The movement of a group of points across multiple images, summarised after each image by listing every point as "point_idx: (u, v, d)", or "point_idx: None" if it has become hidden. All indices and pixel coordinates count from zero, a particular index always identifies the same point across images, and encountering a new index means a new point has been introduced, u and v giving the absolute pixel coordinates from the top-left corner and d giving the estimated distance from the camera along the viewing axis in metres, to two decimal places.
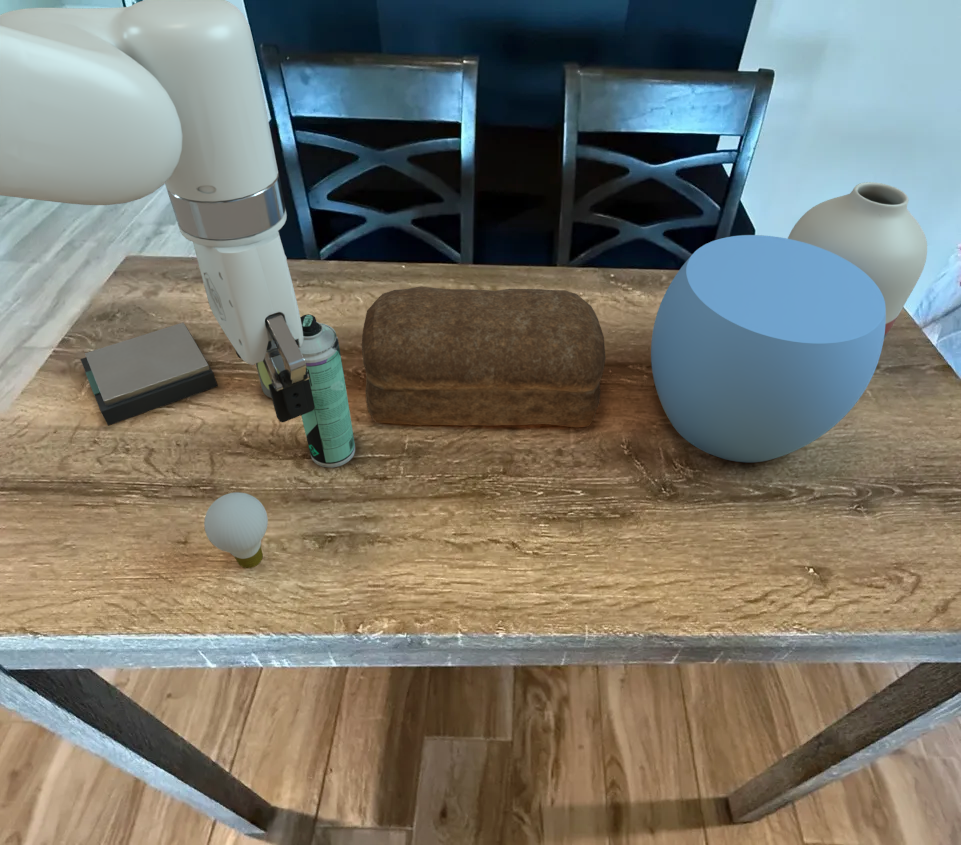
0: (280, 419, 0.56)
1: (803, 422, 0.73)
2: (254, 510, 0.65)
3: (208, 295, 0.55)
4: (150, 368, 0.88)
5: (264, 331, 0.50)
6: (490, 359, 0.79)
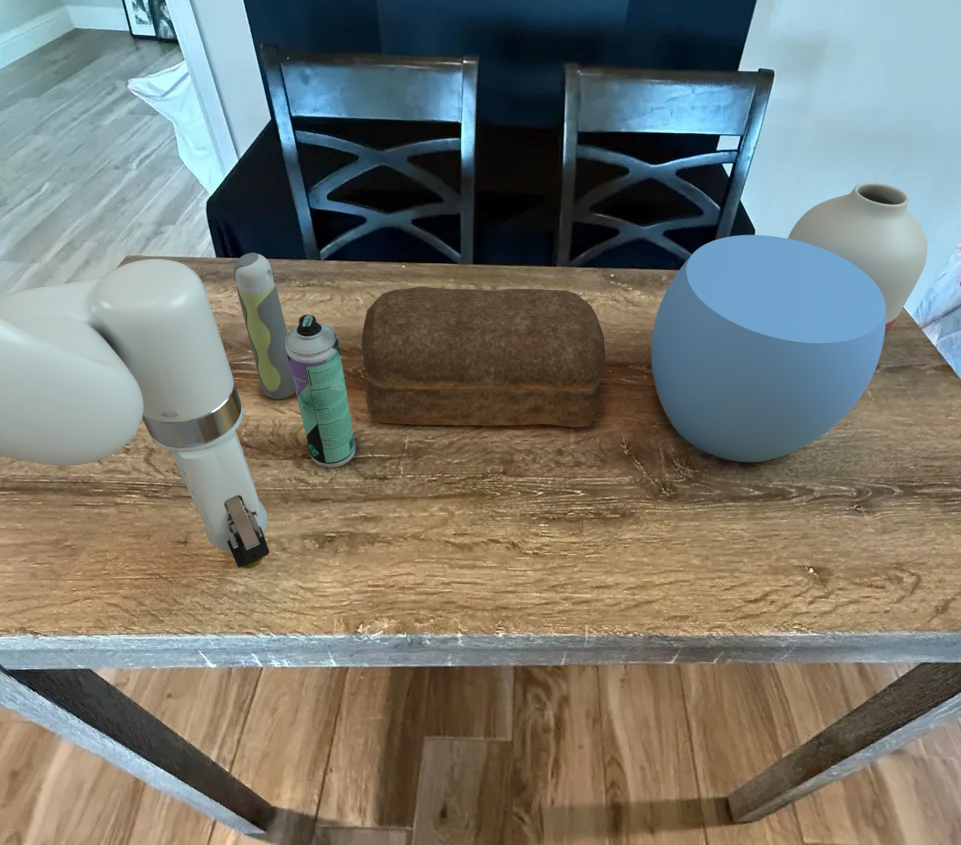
0: (239, 565, 0.65)
1: (803, 422, 0.73)
2: None
3: None
4: None
5: (224, 511, 0.58)
6: (490, 358, 0.79)
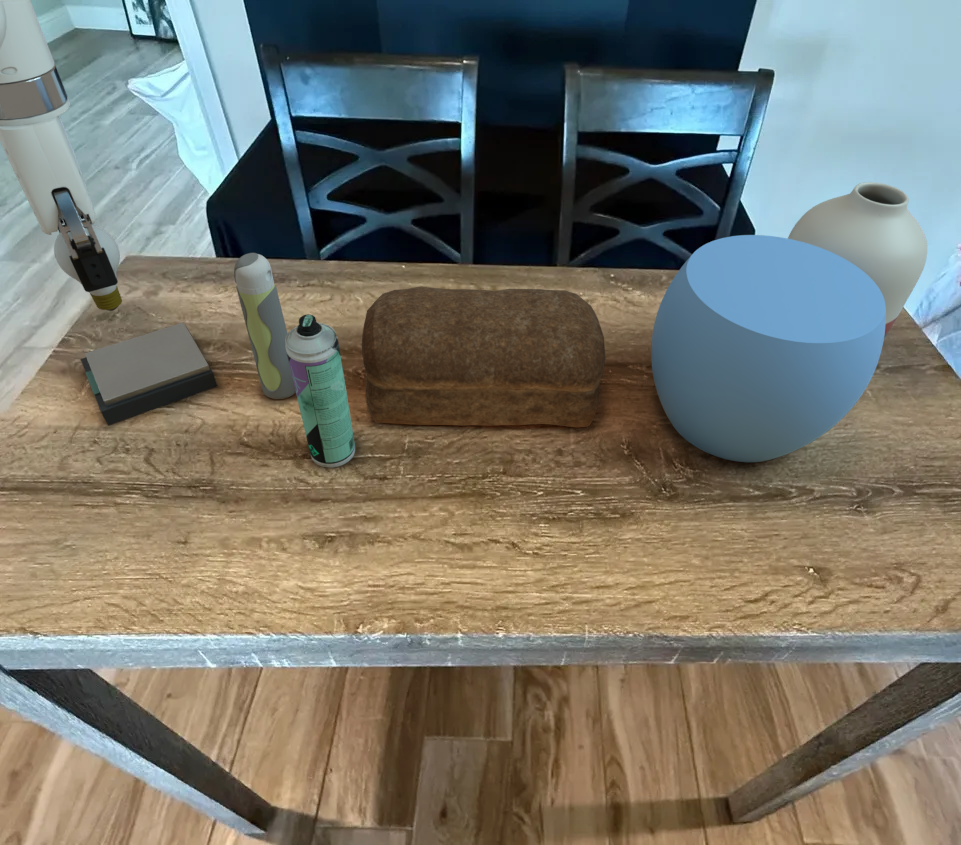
0: (85, 289, 0.69)
1: (803, 422, 0.73)
2: (102, 236, 0.69)
3: None
4: (150, 368, 0.88)
5: (52, 203, 0.61)
6: (490, 358, 0.79)
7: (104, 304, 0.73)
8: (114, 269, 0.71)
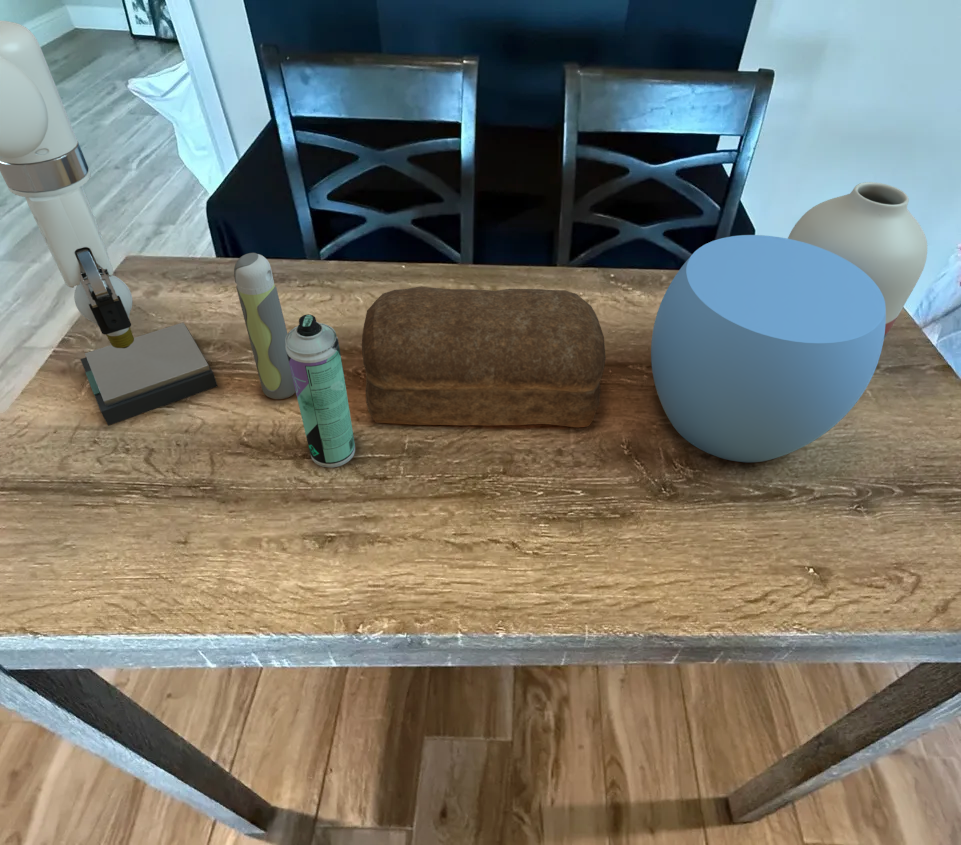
0: (102, 332, 0.77)
1: (803, 422, 0.73)
2: (117, 284, 0.77)
3: None
4: (150, 368, 0.88)
5: (75, 261, 0.69)
6: (490, 358, 0.79)
7: (118, 343, 0.81)
8: (128, 313, 0.79)
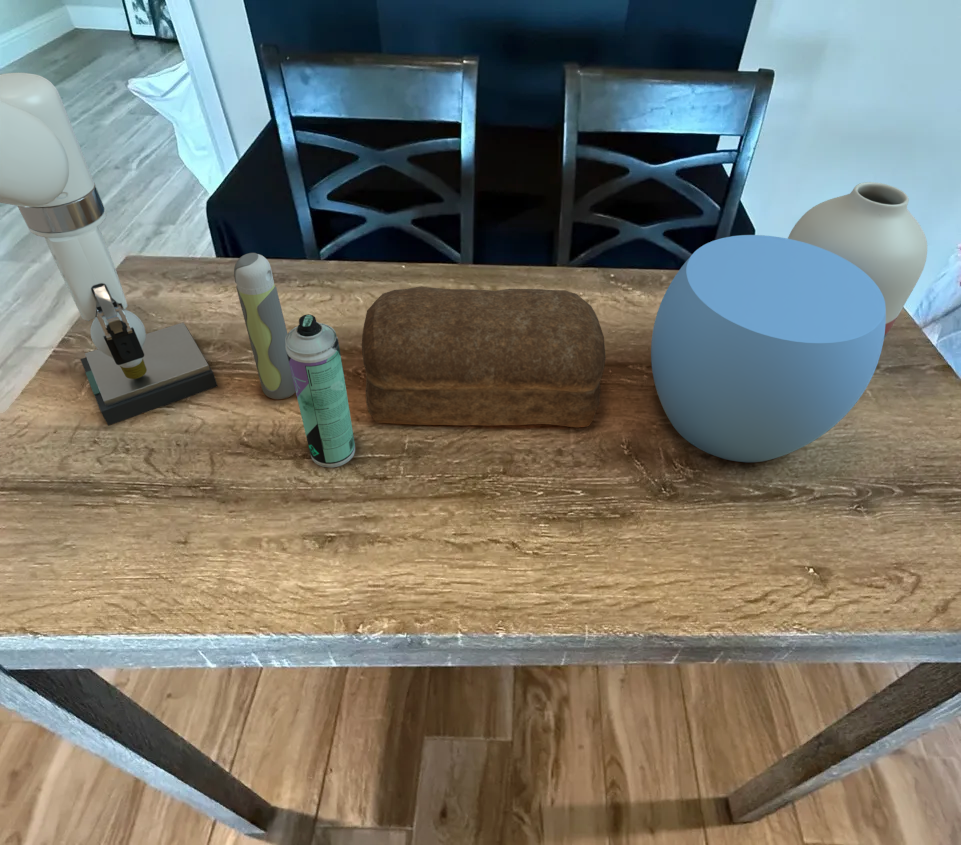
0: (116, 362, 0.78)
1: (803, 422, 0.73)
2: (131, 320, 0.80)
3: None
4: (150, 368, 0.88)
5: (92, 296, 0.72)
6: (490, 358, 0.79)
7: (132, 374, 0.85)
8: (141, 346, 0.82)
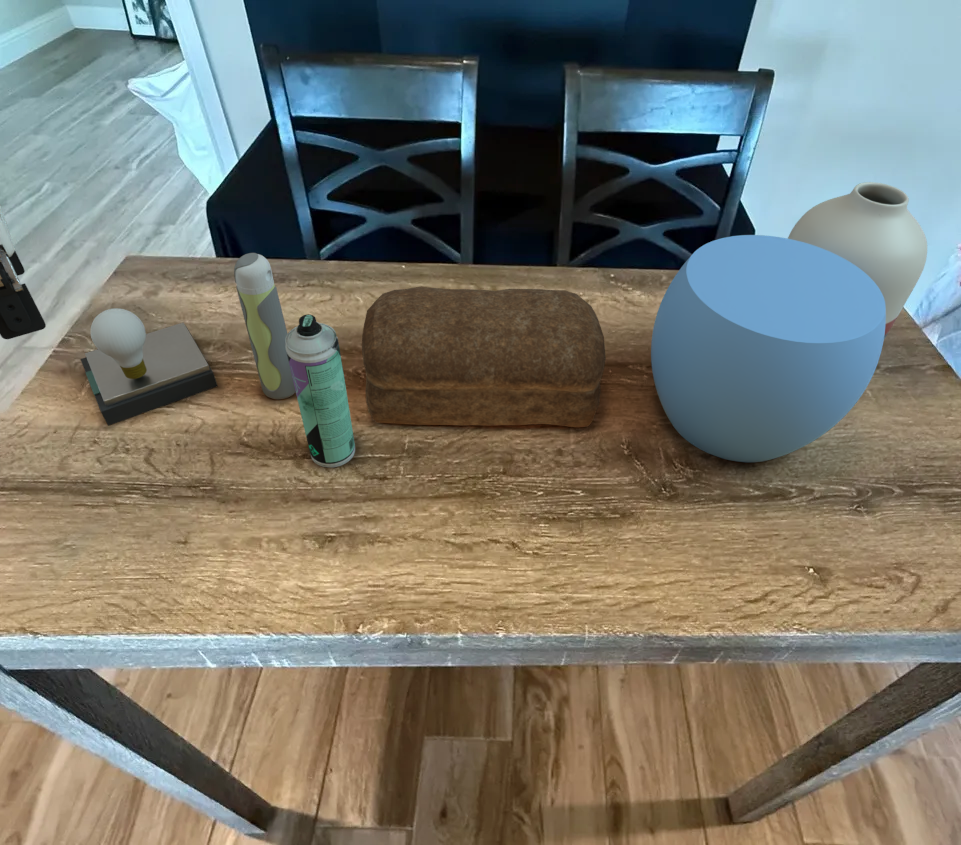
0: (3, 335, 0.54)
1: (803, 422, 0.73)
2: (131, 320, 0.80)
3: None
4: (150, 368, 0.88)
5: None
6: (490, 359, 0.79)
7: (132, 374, 0.85)
8: (141, 346, 0.82)
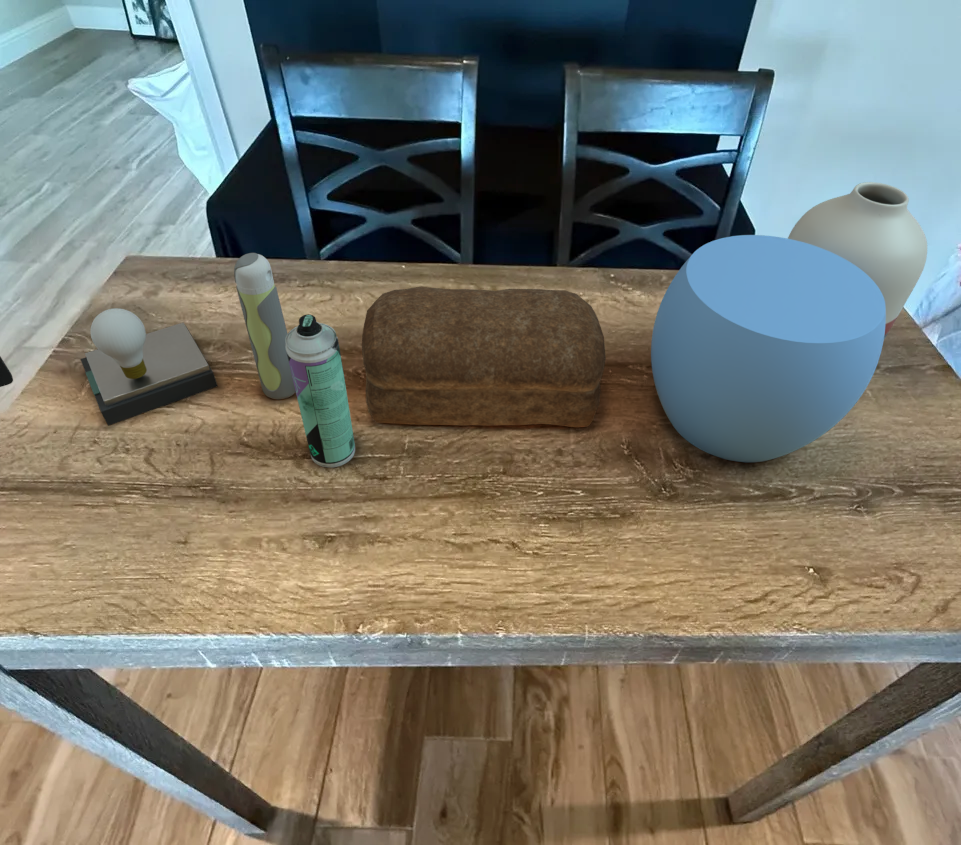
0: None
1: (803, 422, 0.73)
2: (131, 320, 0.80)
3: None
4: (150, 368, 0.88)
5: None
6: (490, 359, 0.79)
7: (132, 374, 0.85)
8: (141, 346, 0.82)
